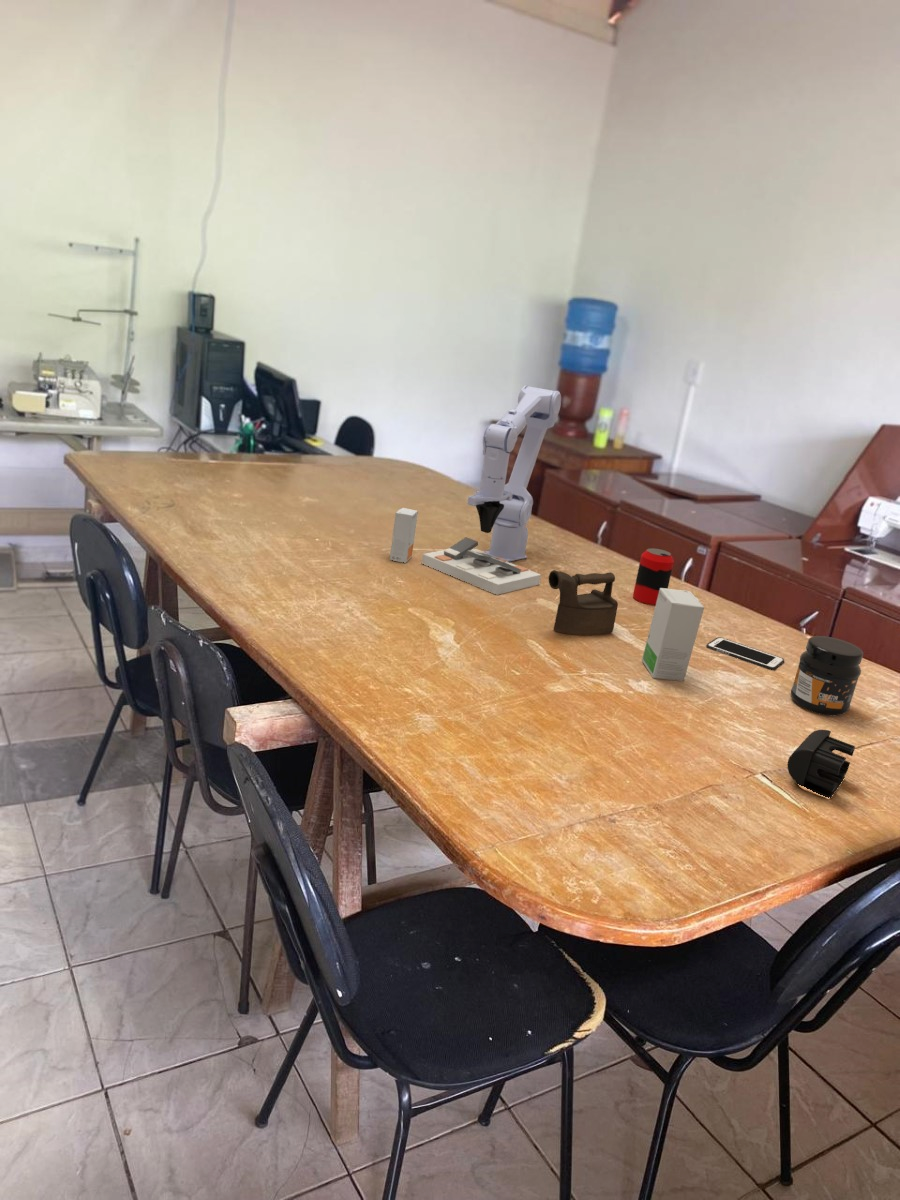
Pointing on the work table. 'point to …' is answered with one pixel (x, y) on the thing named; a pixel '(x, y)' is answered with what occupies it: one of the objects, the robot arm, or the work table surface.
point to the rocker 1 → (460, 548)
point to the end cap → (820, 763)
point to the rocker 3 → (504, 564)
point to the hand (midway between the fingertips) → (485, 531)
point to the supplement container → (827, 675)
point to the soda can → (652, 575)
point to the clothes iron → (584, 604)
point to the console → (482, 572)
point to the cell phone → (745, 653)
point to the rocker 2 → (479, 555)
